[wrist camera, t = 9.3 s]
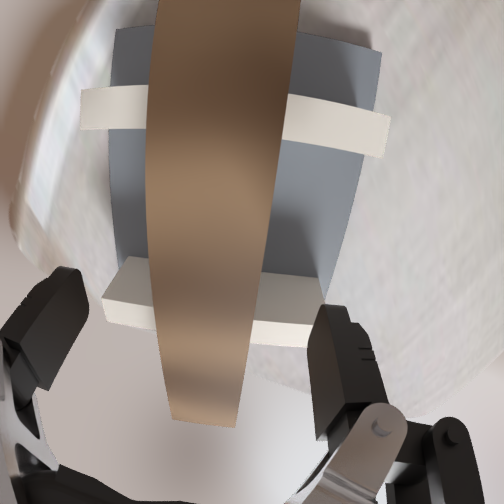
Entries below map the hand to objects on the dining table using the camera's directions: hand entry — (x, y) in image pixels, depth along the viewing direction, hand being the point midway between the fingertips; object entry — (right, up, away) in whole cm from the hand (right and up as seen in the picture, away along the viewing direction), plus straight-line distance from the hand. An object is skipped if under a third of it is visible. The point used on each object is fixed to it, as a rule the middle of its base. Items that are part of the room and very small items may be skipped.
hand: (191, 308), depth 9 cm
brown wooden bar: (0, +2, +5) cm, 6 cm away
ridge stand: (0, +6, +11) cm, 12 cm away
